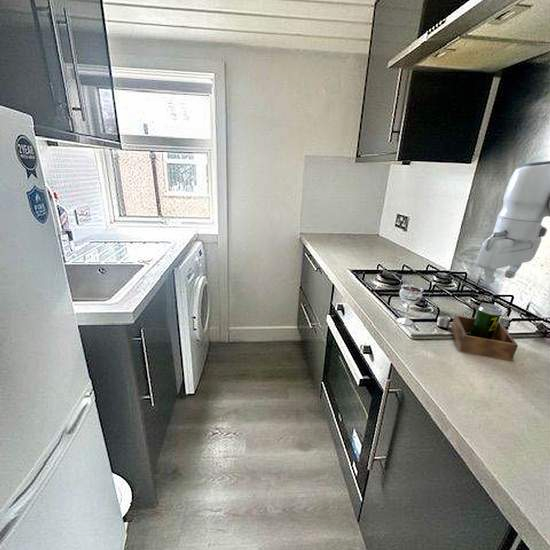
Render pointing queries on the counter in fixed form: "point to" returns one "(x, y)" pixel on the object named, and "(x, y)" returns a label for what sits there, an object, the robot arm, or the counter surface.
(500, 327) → the brown wooden open box
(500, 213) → the robot arm
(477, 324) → the beer can
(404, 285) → the wineglass
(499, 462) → the counter surface
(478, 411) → the counter surface
